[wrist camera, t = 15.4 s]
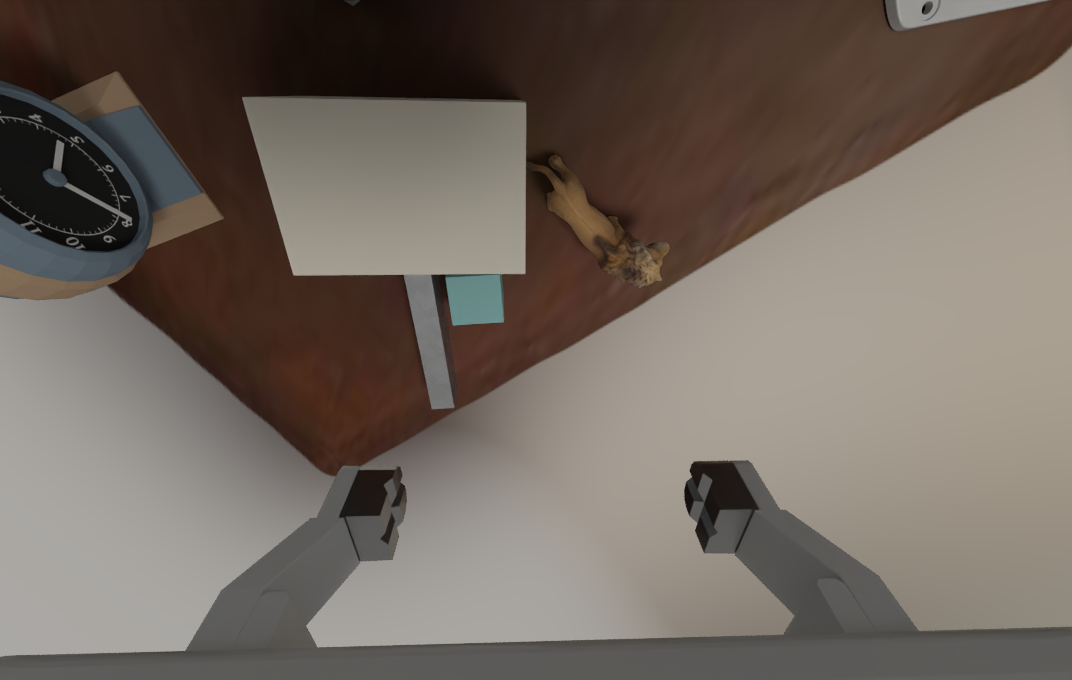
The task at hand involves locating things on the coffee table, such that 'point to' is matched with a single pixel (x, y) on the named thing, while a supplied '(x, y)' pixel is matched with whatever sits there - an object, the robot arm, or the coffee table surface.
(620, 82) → the coffee table surface
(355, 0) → the decorative book
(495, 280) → the cube
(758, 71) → the coffee table surface
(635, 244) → the lion figurine
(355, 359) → the coffee table surface
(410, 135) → the block
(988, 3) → the robot arm
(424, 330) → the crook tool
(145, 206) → the alarm clock
